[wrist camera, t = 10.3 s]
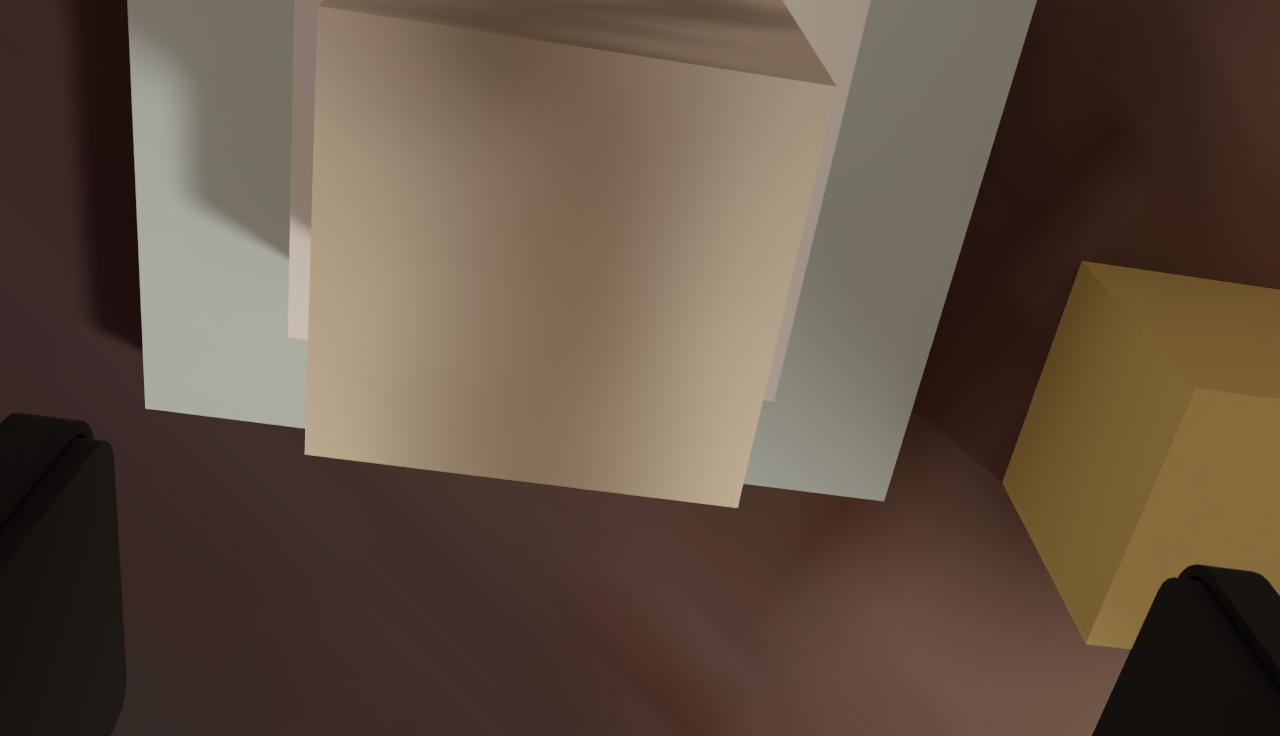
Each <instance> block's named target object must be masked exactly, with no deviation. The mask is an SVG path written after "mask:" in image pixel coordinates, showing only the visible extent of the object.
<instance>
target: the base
mask: <svg viewBox="0 0 1280 736" xmlns="http://www.w3.org/2000/svg"><path fill="white" fill-rule="evenodd" d="M323 1H324V0H127V5H128V27H129V50H130V72H131V95H132V117H133V140H134V163H135V185H136V208H137V230H138V253H139V275H140V298H141V320H142V343H143V366H144V388H145V408H146V409H154V410H162V411H170V412H178V413H186V414H194V415H202V416H210V417H218V418H225V419H233V420H241V421H249V422H257V423H265V424H273V425H281V426H289V427H297V428H305V427H306V392H307V357H308V322H309V287H310V252H311V217H312V182H313V147H314V112H315V77H316V42H317V7H318V5H319V4H320V3H322V2H323ZM1036 1H1037V0H783V2H784V3H785V5H786V7H787V8H788V10H789V11H790V13H791V15H792V16H793V18H794V19H795V21H796V22H797V24H798V26H799V27H800V29H801V30H802V32H803V34H804V35H805V37H806V38H807V40H808V41H809V43H810V45H811V46H812V48H813V49H814V51H815V53H816V54H817V56H818V57H819V59H820V60H821V62H822V64H823V65H824V67H825V68H826V70H827V72H828V73H829V75H830V76H831V78H832V80H833V81H834V83H835V84H836V86H837V89H836V93H835V97H834V102H833V106H832V110H831V114H830V119H829V123H828V127H827V131H826V136H825V140H824V144H823V148H822V153H821V157H820V161H819V165H818V169H817V174H816V178H815V182H814V186H813V191H812V195H811V199H810V203H809V208H808V212H807V216H806V220H805V225H804V229H803V233H802V237H801V242H800V246H799V250H798V254H797V259H796V263H795V267H794V271H793V275H792V280H791V284H790V288H789V292H788V297H787V301H786V305H785V309H784V314H783V318H782V322H781V326H780V331H779V335H778V339H777V343H776V348H775V352H774V356H773V360H772V365H771V369H770V373H769V377H768V381H767V386H766V390H765V394H764V398H763V403H762V407H761V411H760V415H759V420H758V424H757V428H756V432H755V437H754V441H753V445H752V449H751V454H750V458H749V462H748V466H747V471H746V475H745V479H744V483H743V484H750V485H758V486H766V487H774V488H782V489H790V490H798V491H805V492H813V493H821V494H829V495H837V496H845V497H853V498H861V499H869V500H877V501H884V500H885V496H886V493H887V490H888V487H889V483H890V480H891V477H892V474H893V470H894V467H895V464H896V460H897V457H898V454H899V451H900V447H901V444H902V441H903V437H904V434H905V431H906V428H907V424H908V421H909V418H910V415H911V411H912V408H913V405H914V401H915V398H916V395H917V392H918V388H919V385H920V382H921V378H922V375H923V372H924V369H925V365H926V362H927V359H928V356H929V352H930V349H931V346H932V342H933V339H934V336H935V333H936V329H937V326H938V323H939V319H940V316H941V313H942V310H943V306H944V303H945V300H946V297H947V293H948V290H949V287H950V283H951V280H952V277H953V274H954V270H955V267H956V264H957V260H958V257H959V254H960V251H961V247H962V244H963V241H964V238H965V234H966V231H967V228H968V224H969V221H970V218H971V215H972V211H973V208H974V205H975V201H976V198H977V195H978V192H979V188H980V185H981V182H982V178H983V175H984V172H985V169H986V165H987V162H988V159H989V156H990V152H991V149H992V146H993V142H994V139H995V136H996V133H997V129H998V126H999V123H1000V119H1001V116H1002V113H1003V110H1004V106H1005V103H1006V100H1007V97H1008V93H1009V90H1010V87H1011V83H1012V80H1013V77H1014V74H1015V70H1016V67H1017V64H1018V60H1019V57H1020V54H1021V51H1022V47H1023V44H1024V41H1025V38H1026V34H1027V31H1028V28H1029V24H1030V21H1031V18H1032V15H1033V11H1034V8H1035V5H1036Z"/></svg>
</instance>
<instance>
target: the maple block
mask: <svg viewBox="0 0 1280 736" xmlns="http://www.w3.org/2000/svg"><path fill="white" fill-rule="evenodd" d="M836 89H837V86H836V84H835V83H834V81H833V80H832V78H831V76H830V75H829V73H828V72H827V70H826V68H825V67H824V65H823V64H822V62H821V60H820V59H819V57H818V56H817V54H816V53H815V51H814V49H813V48H812V46H811V45H810V43H809V41H808V40H807V38H806V37H805V35H804V34H803V32H802V30H801V29H800V27H799V26H798V24H797V22H796V21H795V19H794V18H793V16H792V15H791V13H790V11H789V10H788V8H787V7H786V5H785V3H784V2H783V0H324V1H323V2H322V3H320V4H319V5H318V7H317V42H316V77H315V112H314V147H313V182H312V217H311V252H310V287H309V322H308V357H307V392H306V427H305V455H313V456H322V457H330V458H338V459H346V460H354V461H362V462H370V463H378V464H386V465H394V466H402V467H410V468H418V469H427V470H435V471H443V472H451V473H459V474H467V475H475V476H483V477H491V478H499V479H507V480H515V481H523V482H531V483H540V484H548V485H556V486H564V487H572V488H580V489H588V490H596V491H604V492H612V493H620V494H628V495H636V496H645V497H653V498H661V499H669V500H677V501H685V502H693V503H701V504H709V505H717V506H725V507H733V508H738V504H739V500H740V496H741V492H742V487H743V483H744V479H745V475H746V471H747V466H748V462H749V458H750V454H751V449H752V445H753V441H754V437H755V432H756V428H757V424H758V420H759V415H760V411H761V407H762V403H763V398H764V394H765V390H766V386H767V381H768V377H769V373H770V369H771V365H772V360H773V356H774V352H775V348H776V343H777V339H778V335H779V331H780V326H781V322H782V318H783V314H784V309H785V305H786V301H787V297H788V292H789V288H790V284H791V280H792V275H793V271H794V267H795V263H796V259H797V254H798V250H799V246H800V242H801V237H802V233H803V229H804V225H805V220H806V216H807V212H808V208H809V203H810V199H811V195H812V191H813V186H814V182H815V178H816V174H817V169H818V165H819V161H820V157H821V153H822V148H823V144H824V140H825V136H826V131H827V127H828V123H829V119H830V114H831V110H832V106H833V102H834V97H835V93H836Z"/></svg>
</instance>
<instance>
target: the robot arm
mask: <svg viewBox="0 0 1280 736" xmlns="http://www.w3.org/2000/svg"><path fill="white" fill-rule="evenodd" d="M125 692H126V661H125V644H124V627H123V609H122V592H121V575H120V557H119V540H118V523H117V506H116V488H115V471H114V457H113V450H112V448H111V445H110V444H109V443H108V442H107V441H101V440H94V438H93V433H92V430H91V428H90V426H89V424H87V423H86V422H84V421H79V420H72V419H64V418H56V417H48V416H40V415H33V414H25V413H13V414H11V415H9V416H8V417H7V418H5V419H4V420H3V421H2V422H1V423H0V736H110V735H111V733H112V731H113V729H114V727H115V725H116V723H117V721H118V718H119V716H120V713H121V710H122V706H123V702H124V698H125ZM1092 736H1280V595H1279V594H1278V593H1277V591H1276V590H1275V589H1274V588H1273V586H1272V585H1271V584H1270V582H1269V581H1268V580H1267V579H1266V578H1264V577H1263V576H1262V575H1261V574H1259V573H1256V572H1253V571H1246V570H1238V569H1230V568H1222V567H1215V566H1207V565H1199V564H1195V565H1191V566H1188V567H1187V568H1186V569H1184V570H1183V571H1182V572H1181V573H1180V575H1179V576H1178V578H1176V577H1173V578H1168V579H1167V580H1166V581H1165V582H1163V583H1162V585H1161V586H1160V588H1159V590H1158V592H1157V594H1156V596H1155V598H1154V600H1153V603H1152V605H1151V607H1150V609H1149V611H1148V614H1147V616H1146V618H1145V620H1144V622H1143V625H1142V627H1141V629H1140V631H1139V633H1138V636H1137V638H1136V640H1135V642H1134V644H1133V647H1132V649H1131V651H1130V653H1129V655H1128V658H1127V660H1126V662H1125V664H1124V666H1123V669H1122V671H1121V673H1120V675H1119V677H1118V680H1117V682H1116V684H1115V686H1114V688H1113V691H1112V693H1111V695H1110V697H1109V699H1108V702H1107V704H1106V706H1105V708H1104V710H1103V713H1102V715H1101V717H1100V719H1099V721H1098V724H1097V726H1096V728H1095V730H1094V732H1093V735H1092Z"/></svg>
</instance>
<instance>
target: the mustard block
mask: <svg viewBox="0 0 1280 736" xmlns="http://www.w3.org/2000/svg"><path fill="white" fill-rule="evenodd" d="M1002 483H1003V485H1004V487H1005V489H1006V491H1007V493H1008V495H1009V497H1010V499H1011V501H1012V503H1013V505H1014V506H1015V508H1016V510H1017V512H1018V514H1019V516H1020V518H1021V520H1022V522H1023V524H1024V526H1025V528H1026V530H1027V532H1028V534H1029V536H1030V537H1031V539H1032V541H1033V543H1034V545H1035V547H1036V549H1037V551H1038V553H1039V555H1040V557H1041V559H1042V561H1043V563H1044V565H1045V566H1046V568H1047V570H1048V572H1049V574H1050V576H1051V578H1052V580H1053V582H1054V584H1055V586H1056V588H1057V590H1058V592H1059V594H1060V596H1061V597H1062V599H1063V601H1064V603H1065V605H1066V607H1067V609H1068V611H1069V613H1070V615H1071V617H1072V619H1073V621H1074V623H1075V625H1076V627H1077V628H1078V630H1079V632H1080V634H1081V636H1082V638H1083V640H1084V642H1085V644H1089V645H1097V646H1106V647H1115V648H1123V649H1132V647H1133V644H1134V642H1135V640H1136V638H1137V636H1138V633H1139V631H1140V629H1141V627H1142V625H1143V622H1144V620H1145V618H1146V616H1147V614H1148V611H1149V609H1150V607H1151V605H1152V603H1153V600H1154V598H1155V596H1156V594H1157V592H1158V590H1159V588H1160V586H1161V585H1162V583H1163V582H1165V581H1166V580H1167V579H1168V578H1173V577H1176V578H1178V576H1179V575H1180V573H1181V572H1182V571H1183V570H1184V569H1186V568H1187V567H1188V566H1191V565H1195V564H1199V565H1207V566H1215V567H1222V568H1230V569H1238V570H1246V571H1253V572H1256V573H1259V574H1261V575H1262V576H1263V577H1264V578H1266V579H1267V580H1268V581H1269V582H1270V584H1271V585H1272V586H1273V588H1274V589H1275V590H1276V591H1277V593H1278V594H1279V595H1280V290H1279V289H1272V288H1265V287H1258V286H1251V285H1244V284H1237V283H1231V282H1224V281H1217V280H1210V279H1203V278H1196V277H1189V276H1183V275H1176V274H1169V273H1162V272H1155V271H1148V270H1141V269H1135V268H1128V267H1121V266H1114V265H1107V264H1100V263H1093V262H1087V261H1082V262H1081V264H1080V267H1079V270H1078V273H1077V276H1076V278H1075V281H1074V284H1073V287H1072V290H1071V292H1070V295H1069V298H1068V301H1067V303H1066V306H1065V309H1064V312H1063V315H1062V317H1061V320H1060V323H1059V326H1058V329H1057V331H1056V334H1055V337H1054V340H1053V343H1052V345H1051V348H1050V351H1049V354H1048V357H1047V359H1046V362H1045V365H1044V368H1043V370H1042V373H1041V376H1040V379H1039V382H1038V384H1037V387H1036V390H1035V393H1034V396H1033V398H1032V401H1031V404H1030V407H1029V410H1028V412H1027V415H1026V418H1025V421H1024V423H1023V426H1022V429H1021V432H1020V435H1019V437H1018V440H1017V443H1016V446H1015V449H1014V451H1013V454H1012V457H1011V460H1010V463H1009V465H1008V468H1007V471H1006V474H1005V476H1004V479H1003V482H1002Z"/></svg>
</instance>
